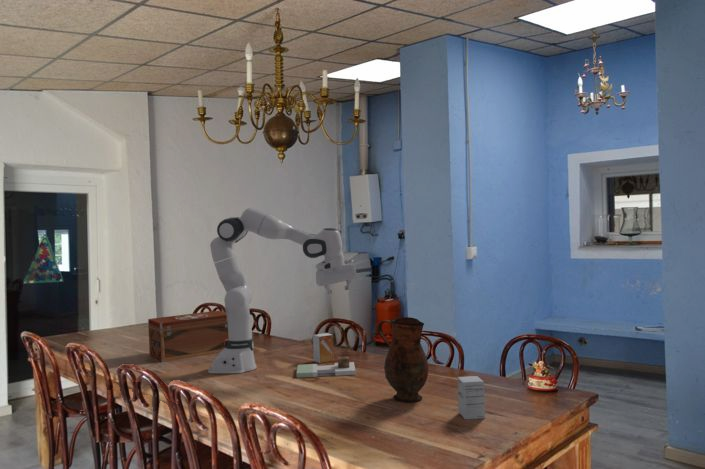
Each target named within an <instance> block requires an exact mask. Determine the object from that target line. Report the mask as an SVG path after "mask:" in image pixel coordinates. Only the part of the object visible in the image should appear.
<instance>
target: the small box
mask: <svg viewBox="0 0 705 469" xmlns="http://www.w3.org/2000/svg"><path fill="white" fill-rule="evenodd" d="M312 346H313V352H312V353H313V362H315V363H317V364H323V363H328V362H334V360H335V358H334V354H335V353H334V334H333V333H328V332H323V333H317V334H312Z"/></svg>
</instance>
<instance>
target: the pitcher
mask: <svg viewBox="0 0 705 469" xmlns="http://www.w3.org/2000/svg"><path fill="white" fill-rule="evenodd" d="M385 323H389V324H390V327H391V341H390V340H389V339H388V338H387V337H386V336H385V334H384V332H383V326H384V324H385ZM424 326H425V322H422V321H420V320H419V319H417V318H415V317H405V316H403V317H397V318H393V319H385V320H382V321H381V322H379V323H378V326H377V333H378V334H379V336H380V337H381V339H382V340H383V341H384V343H385V344H386V346H387V347H388V351H387V354H386V357H385V362H384V366H383V368H384V369H383V371H384V375H385V379H386V380H387V382H388V384H389V386H391V388H392V389H393V390H394V391H395V392H396V393H395V394H394V395H393V400H395V401H397V402H401V403H417V402H420V401H422V400H423V397H422V395H420V394H419V392H420V391H421V390H422V388H423V387H425V384H426V382H427V379H428V377H429V362H428V358H427V356H426V353H425V350H424V349H423V345H422V343H421V340H422V339H421V338H422V332H423V329H424Z"/></svg>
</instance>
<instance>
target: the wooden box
mask: <svg viewBox="0 0 705 469" xmlns="http://www.w3.org/2000/svg"><path fill="white" fill-rule="evenodd" d="M147 321H148V322H147V324H148V329H147V330H148V346H149V347H148V348H149V350H148V351H149V357H151V358H153V359H154V360H157V361H159V362H161V363H164V362H172V361H177V360H178V361H179V360H184V359H189V358H195V357H196V358H197V357H201V356H207V355H213V354H218V353H219V352H220V351H222V350H223V349H224V348H225V347H224V341H225V340H226V339H228V322H227V316H226V311H222V310H211V311H205V312H204V311H203V312H197V313H196V312H195V313H188V314H187V313H186V314H179V315H170V316H163V317H155V318H148V319H147Z"/></svg>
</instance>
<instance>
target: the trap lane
mask: <svg viewBox="0 0 705 469" xmlns="http://www.w3.org/2000/svg"><path fill="white" fill-rule="evenodd" d="M356 371H357V370H356V367H355V362H354V361H349V368H338V362H334V364H329V365H328V364H327V365H318V363H309V364H308V363H307V364H304V363H303V364H297V369H296V378H297V379H298V378H299V379H300V378H317V377H319V378H320V377H322V378H323V377H335V376H336V377H340V376H356V375H357V373H356Z"/></svg>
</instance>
